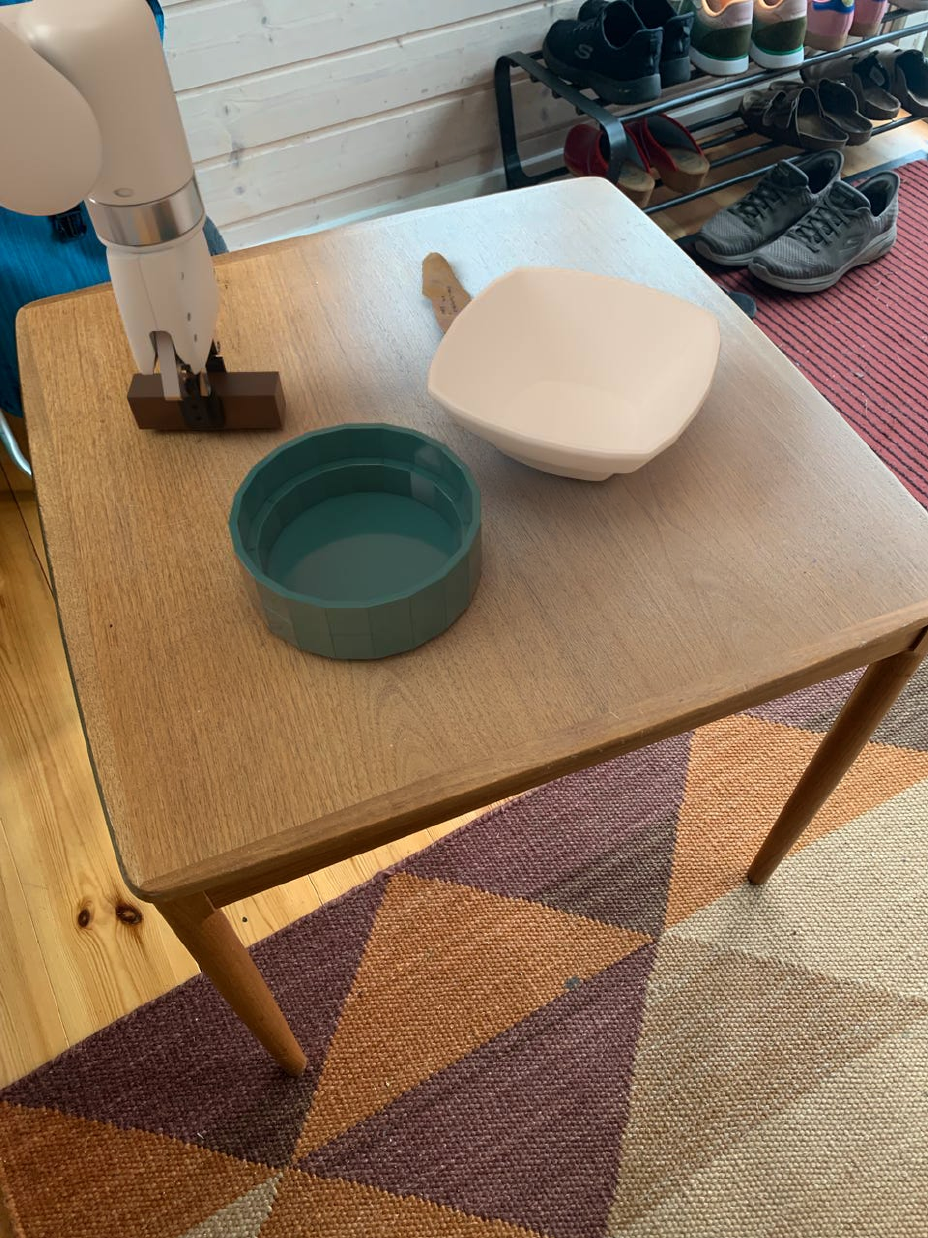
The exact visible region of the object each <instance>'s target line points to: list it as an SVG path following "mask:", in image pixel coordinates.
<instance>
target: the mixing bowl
mask: <svg viewBox="0 0 928 1238" xmlns="http://www.w3.org/2000/svg"><path fill="white" fill-rule="evenodd" d="M232 498H233V499H232V504H231V508H230V514H229V518H228V529H229V533H230V538H231V542H232V547H233V550H234V551H233V552H234V555H235V558H236V560H237V563H238V567H239V570H240V573H241V575H242V579H243V582H244V585H245V588H246V591H247V594H248V597H249V600H250V603H251V605H252V607H253V609H254V610H255V612H256V613H257V615H259V617H260V618H261V620H262V622H264V624H265V625H266V627H267V628H268V629H269V630H270V631H271V632H272V633H274V634H275V635H277V636H279V637H280V638H282V639H283V640H284V641H286V642H287V643H289V644H291V645H293V646H294V647H296V648H297V649H299V650H301V651H304V652H308V653H312V654H315V655H319V656H322V657H326V658H330V659H334V660H375V659H376V660H378V659H381V658H385V657H389V656H393V655H397V654H401V653H404V652H407V651H411V650H414V649H416V648H418V647H419V646H421V645H423V644H424V643H426V642H427V641H429V640H431V639H433V638H435V637H436V636H438V635H440V634H441V633H443V632H445V631H446V630H448V629H449V628H450V627H451V625H452V624H454V622H455V621H456V620H457V619H458V618H459V616H461V615H462V613H463V612H464V611H465V610H466V609H467V608H468V607H469V606H470V604H471V602H472V599H473V597H474V594H475V593H476V590H477V587H478V584H479V582H480V579H481V577H482V493H481V490H480V488H479V486H478V484H477V481H476V479H475V477H474V475H473V473H472V471H471V468H470V467H469V465H468V464H467V463H465V461H464V460H463V459H462V458H461V457H460V456H459V455H457V453H456V452H454V450H452V449H451V448H450V447H449V446H448V445H447V444H445V443H443V442H441V441H439V440H437V439H435V438H433V437H432V436H429V435H427V434H425V433H423V432H421V431H419V430H417V429H414V428H408V427H405V426H399V425H395V424H390V423H386V422H346V423H341V424H336V425H332V426H328V427H323V428H318V429H314V430H310V431H307V432H305V433H303V434H301V435H299V436H297V437H295V438H293V439H291V440H288V441H286V442H284V443H282V444H279V445H278V446H276V447H275V448H274V449H273V450H272V451H270V452H269V453H268V454H267V455H265V456H264V457H263V458H262V459H261V460H259V461H258V462H257V463H256V464H255V465H253V466H252V467H251V468H250V470H249V472H248V473H247V475H246V476H245V478H244V479H243V480H242V482H241V483H240V485H239V487H238V488H237V490H235V493H234V495H233V497H232Z"/></svg>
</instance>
